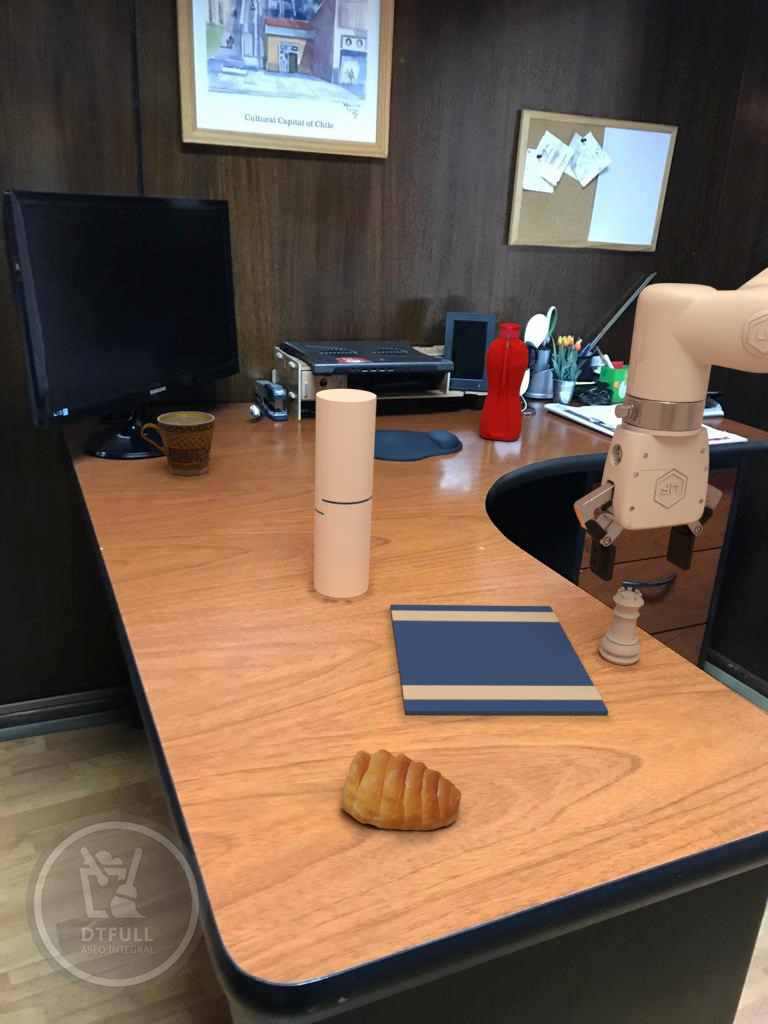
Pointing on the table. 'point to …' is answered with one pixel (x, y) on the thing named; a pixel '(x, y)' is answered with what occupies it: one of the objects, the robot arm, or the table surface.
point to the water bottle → (504, 385)
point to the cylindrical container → (343, 491)
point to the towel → (489, 662)
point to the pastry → (398, 793)
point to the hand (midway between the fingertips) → (639, 570)
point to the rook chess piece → (623, 629)
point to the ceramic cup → (185, 441)
